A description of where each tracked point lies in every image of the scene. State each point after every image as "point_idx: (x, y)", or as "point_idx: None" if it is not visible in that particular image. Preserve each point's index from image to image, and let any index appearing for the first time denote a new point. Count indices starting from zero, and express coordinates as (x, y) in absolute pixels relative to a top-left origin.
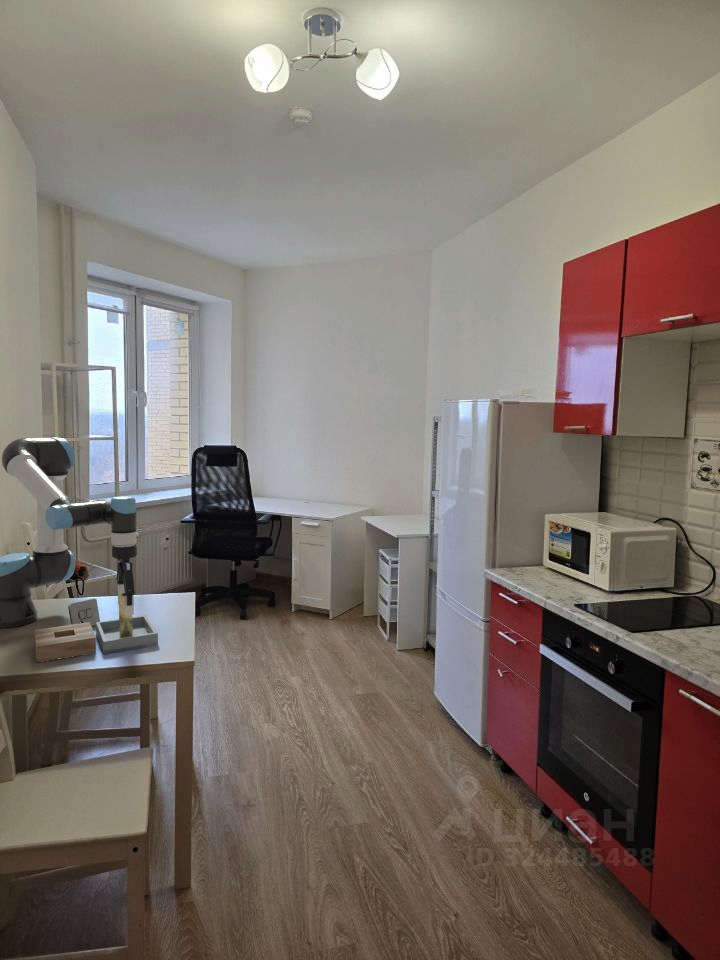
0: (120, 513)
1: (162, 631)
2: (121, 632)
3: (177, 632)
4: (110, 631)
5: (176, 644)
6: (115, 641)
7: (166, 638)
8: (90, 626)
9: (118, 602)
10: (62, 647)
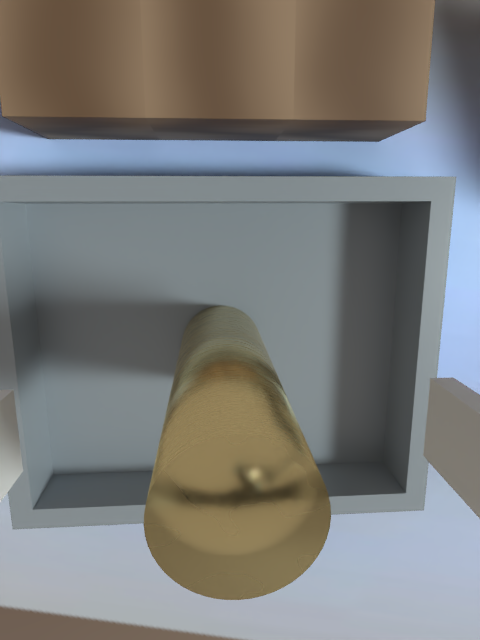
0: None
1: None
2: (195, 323)
3: None
4: (366, 267)
5: (20, 564)
6: None
7: (138, 534)
8: (307, 111)
9: (438, 386)
10: None
